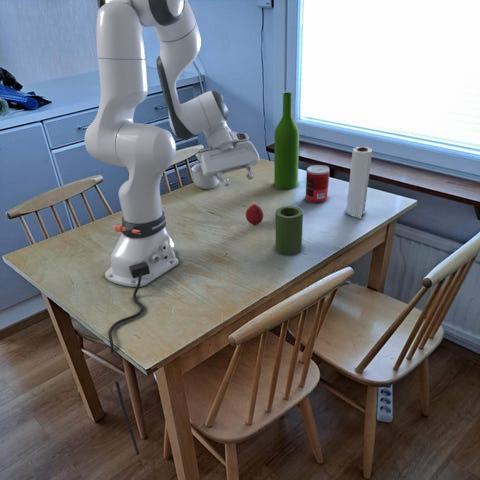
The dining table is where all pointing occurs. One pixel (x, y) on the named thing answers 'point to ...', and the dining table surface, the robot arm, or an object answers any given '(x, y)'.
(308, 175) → the canned food
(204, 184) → the teacup
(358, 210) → the paper towel roll
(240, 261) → the dining table surface
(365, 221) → the dining table surface
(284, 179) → the wine bottle
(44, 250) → the dining table surface
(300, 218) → the green cylindrical vase
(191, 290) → the dining table surface
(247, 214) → the onion
